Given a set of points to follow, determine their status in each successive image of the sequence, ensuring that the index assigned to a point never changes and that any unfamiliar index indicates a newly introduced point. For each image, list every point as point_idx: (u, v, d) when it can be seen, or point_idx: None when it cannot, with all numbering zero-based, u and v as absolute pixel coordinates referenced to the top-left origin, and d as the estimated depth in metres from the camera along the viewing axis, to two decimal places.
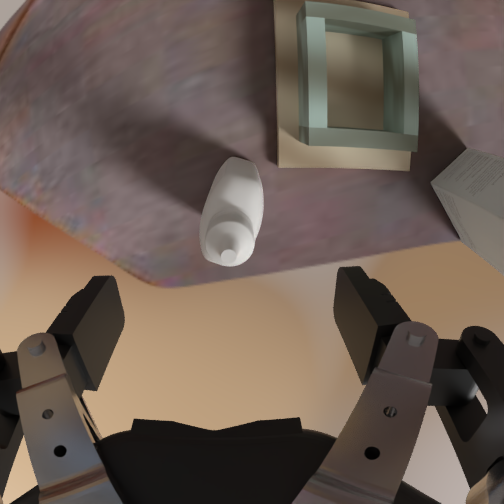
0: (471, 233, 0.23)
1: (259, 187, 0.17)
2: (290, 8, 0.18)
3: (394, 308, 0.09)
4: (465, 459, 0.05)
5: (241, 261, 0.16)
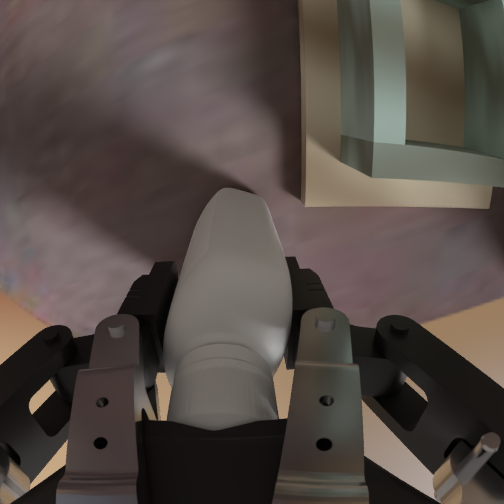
0: None
1: (286, 284, 0.08)
2: None
3: (320, 296, 0.10)
4: (415, 446, 0.06)
5: None
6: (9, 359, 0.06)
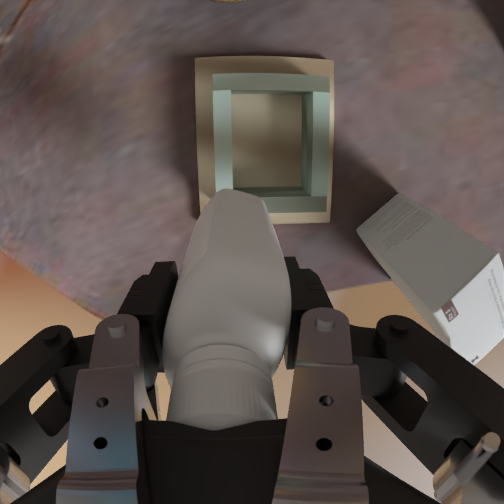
0: None
1: (285, 285, 0.08)
2: (209, 73, 0.22)
3: (319, 296, 0.10)
4: (416, 446, 0.06)
5: None
6: (9, 359, 0.06)
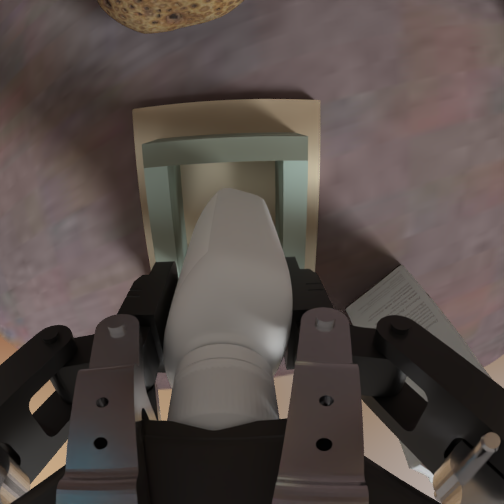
0: None
1: (286, 284, 0.08)
2: (151, 129, 0.17)
3: (320, 296, 0.10)
4: (415, 446, 0.06)
5: None
6: (9, 359, 0.06)
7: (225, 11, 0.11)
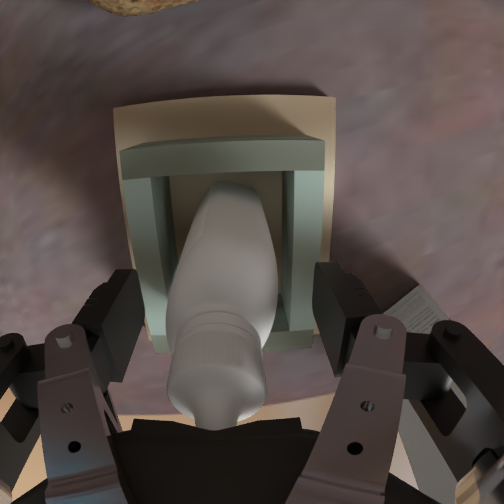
0: None
1: (270, 260, 0.09)
2: (135, 131, 0.14)
3: (367, 302, 0.09)
4: (448, 452, 0.06)
5: (240, 419, 0.07)
6: None
7: None
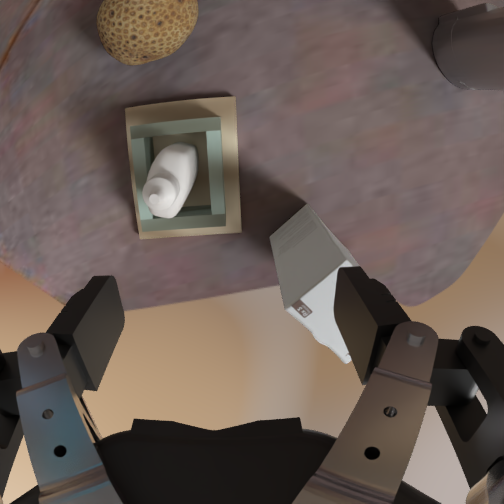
0: None
1: (185, 157, 0.23)
2: (136, 120, 0.28)
3: (394, 308, 0.09)
4: (466, 459, 0.05)
5: (167, 206, 0.21)
6: None
7: (172, 51, 0.23)
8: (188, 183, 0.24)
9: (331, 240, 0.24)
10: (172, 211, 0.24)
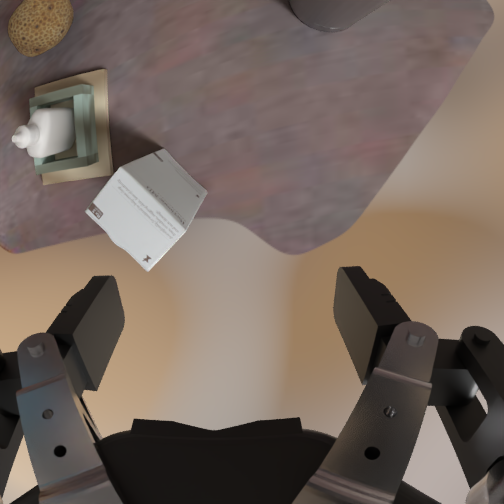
0: None
1: (47, 113, 0.27)
2: (41, 95, 0.32)
3: (394, 308, 0.09)
4: (466, 459, 0.05)
5: (26, 144, 0.25)
6: None
7: (54, 43, 0.26)
8: (49, 131, 0.27)
9: (133, 161, 0.27)
10: (38, 151, 0.28)
